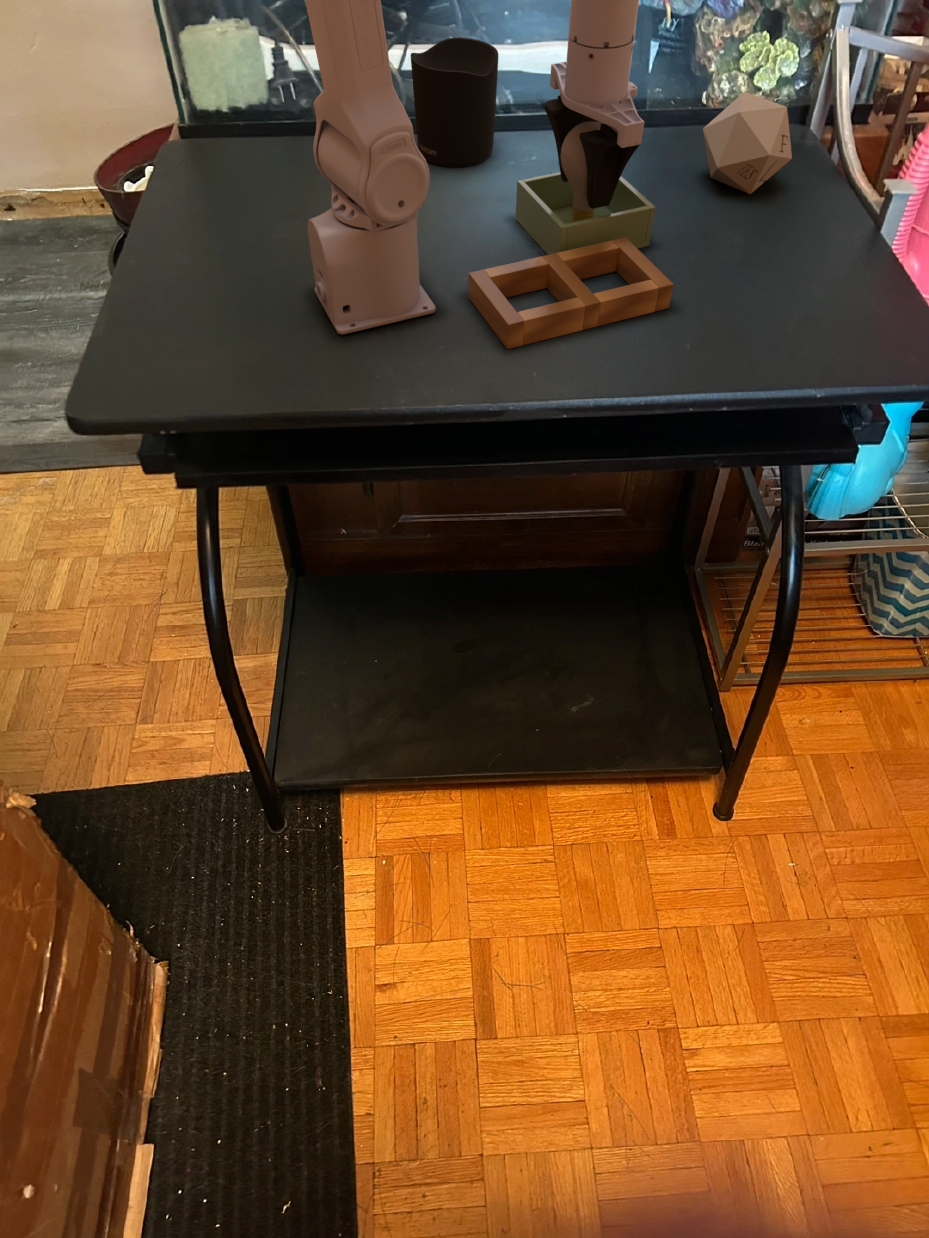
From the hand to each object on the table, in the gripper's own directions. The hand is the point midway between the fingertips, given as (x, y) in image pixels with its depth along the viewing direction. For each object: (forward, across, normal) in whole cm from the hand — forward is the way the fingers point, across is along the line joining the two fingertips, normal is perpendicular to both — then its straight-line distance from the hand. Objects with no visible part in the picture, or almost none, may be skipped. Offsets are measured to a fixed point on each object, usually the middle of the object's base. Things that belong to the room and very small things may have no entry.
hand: (585, 192), depth 87 cm
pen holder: (+4, +22, +5) cm, 23 cm away
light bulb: (+4, 0, 0) cm, 4 cm away
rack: (+4, -11, +7) cm, 14 cm away
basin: (+4, 0, 0) cm, 4 cm away
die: (+4, +3, -21) cm, 22 cm away
